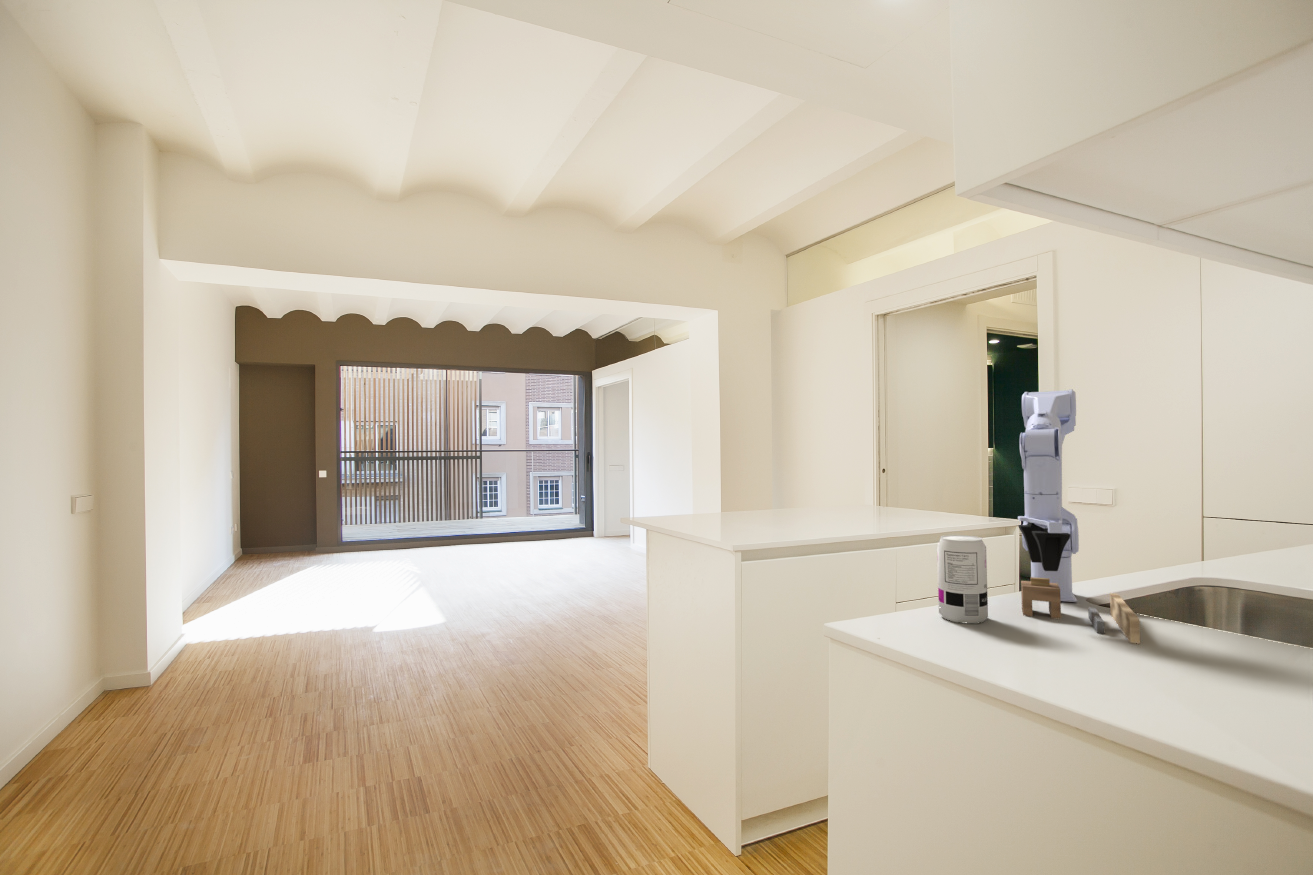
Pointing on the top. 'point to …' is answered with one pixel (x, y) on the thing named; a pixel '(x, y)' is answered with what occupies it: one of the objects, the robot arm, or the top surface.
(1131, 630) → the cleat board
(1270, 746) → the top surface
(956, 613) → the supplement can
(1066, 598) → the robot arm
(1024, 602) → the cabinet block
